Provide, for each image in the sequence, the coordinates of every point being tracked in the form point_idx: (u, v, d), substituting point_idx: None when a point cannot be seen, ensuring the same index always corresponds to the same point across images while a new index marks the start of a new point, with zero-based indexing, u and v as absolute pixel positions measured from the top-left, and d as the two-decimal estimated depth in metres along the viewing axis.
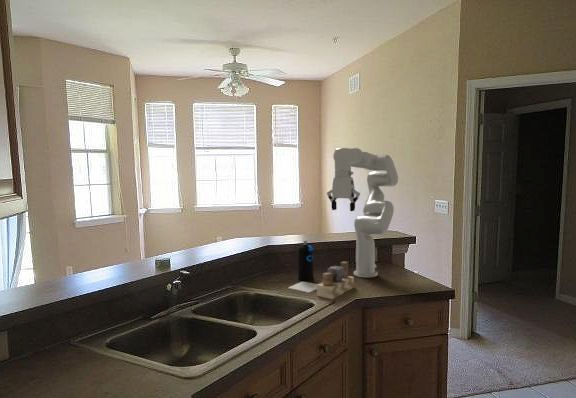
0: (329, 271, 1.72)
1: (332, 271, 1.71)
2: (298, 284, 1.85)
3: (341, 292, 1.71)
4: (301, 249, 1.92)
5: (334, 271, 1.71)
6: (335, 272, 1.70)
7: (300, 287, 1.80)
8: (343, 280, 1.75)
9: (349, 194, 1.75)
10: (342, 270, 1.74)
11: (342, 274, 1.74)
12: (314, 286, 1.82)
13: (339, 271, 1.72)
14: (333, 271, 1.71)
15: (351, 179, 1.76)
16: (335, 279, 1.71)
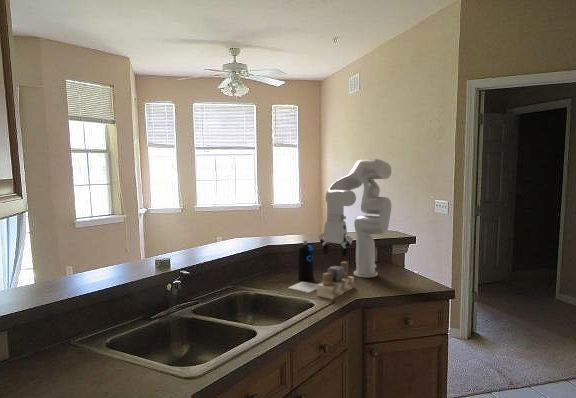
0: (329, 271, 1.72)
1: (332, 271, 1.71)
2: (298, 284, 1.85)
3: (341, 292, 1.71)
4: (301, 249, 1.92)
5: (334, 271, 1.71)
6: (335, 272, 1.70)
7: (300, 287, 1.80)
8: (343, 280, 1.75)
9: (341, 239, 1.69)
10: (342, 270, 1.74)
11: (342, 274, 1.74)
12: (314, 286, 1.82)
13: (339, 271, 1.72)
14: (333, 271, 1.71)
15: (343, 224, 1.70)
16: (335, 279, 1.71)
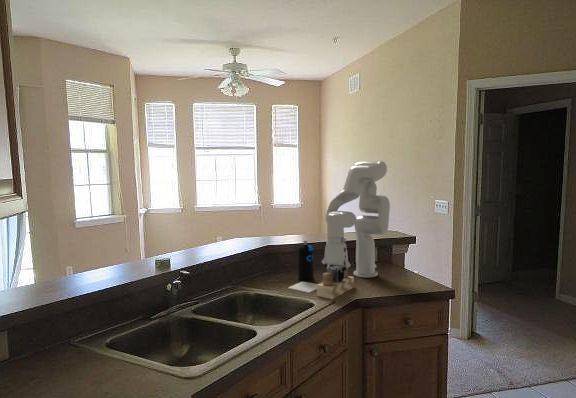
0: (329, 271, 1.72)
1: (332, 271, 1.71)
2: (298, 284, 1.85)
3: (341, 292, 1.71)
4: (301, 249, 1.92)
5: (334, 271, 1.71)
6: (335, 272, 1.70)
7: (300, 287, 1.80)
8: (343, 280, 1.75)
9: (342, 262, 1.70)
10: None
11: None
12: (314, 286, 1.82)
13: (339, 271, 1.72)
14: (333, 271, 1.71)
15: (344, 246, 1.71)
16: (335, 279, 1.71)
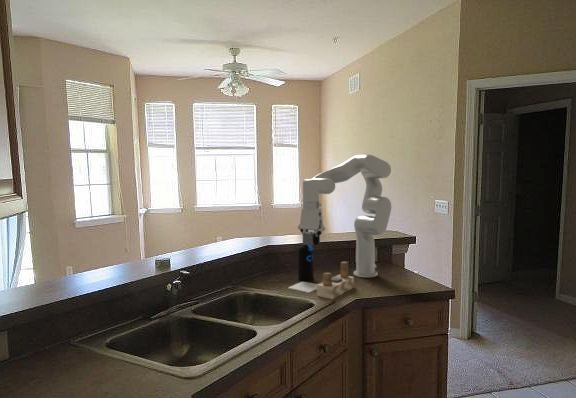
0: (304, 235, 1.76)
1: (307, 235, 1.75)
2: (298, 284, 1.85)
3: (341, 292, 1.71)
4: (301, 249, 1.92)
5: (309, 235, 1.75)
6: (311, 236, 1.74)
7: (300, 287, 1.80)
8: (343, 280, 1.75)
9: (317, 226, 1.74)
10: None
11: None
12: (314, 286, 1.82)
13: (314, 235, 1.76)
14: (308, 235, 1.75)
15: (319, 211, 1.75)
16: (310, 243, 1.74)
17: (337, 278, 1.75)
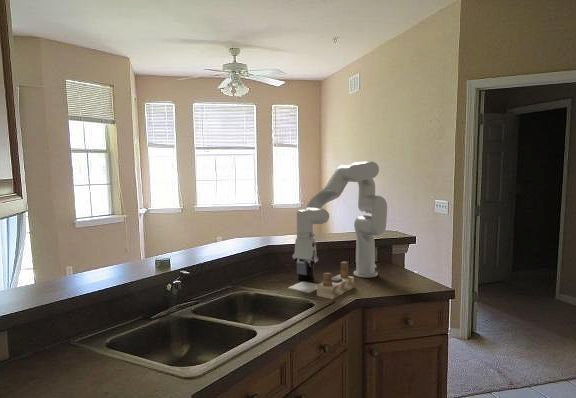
0: (298, 265, 1.79)
1: (301, 265, 1.78)
2: (298, 284, 1.85)
3: (341, 292, 1.71)
4: None
5: (303, 265, 1.77)
6: (304, 266, 1.77)
7: (300, 287, 1.80)
8: (343, 280, 1.75)
9: (310, 256, 1.76)
10: None
11: None
12: (314, 286, 1.82)
13: (308, 265, 1.79)
14: (302, 265, 1.78)
15: (312, 241, 1.77)
16: (304, 273, 1.77)
17: (337, 278, 1.75)
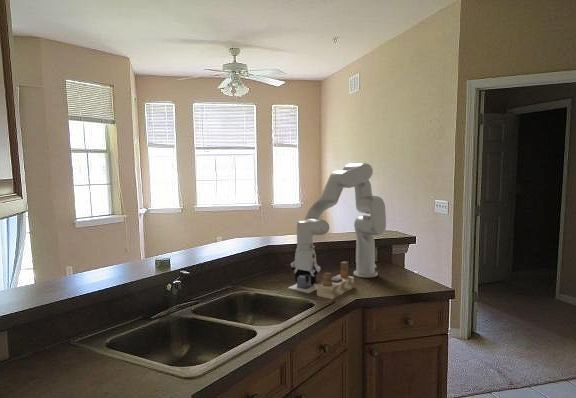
0: (299, 279, 1.79)
1: (301, 279, 1.78)
2: None
3: (341, 292, 1.71)
4: None
5: (303, 279, 1.78)
6: (304, 280, 1.77)
7: None
8: (343, 280, 1.75)
9: (310, 267, 1.77)
10: None
11: None
12: (314, 286, 1.82)
13: (308, 279, 1.79)
14: (302, 279, 1.78)
15: (312, 252, 1.78)
16: (304, 287, 1.78)
17: (337, 278, 1.75)
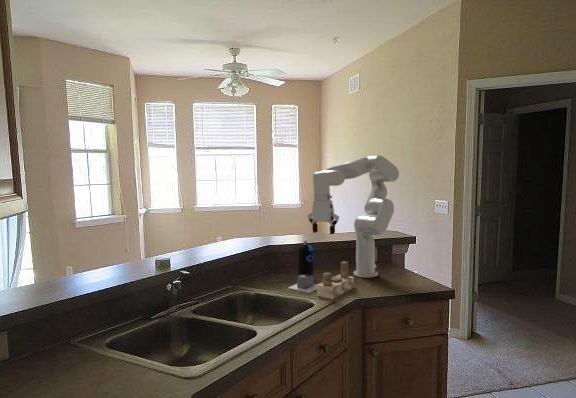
0: (299, 279, 1.79)
1: (301, 279, 1.78)
2: None
3: (341, 292, 1.71)
4: (301, 249, 1.92)
5: (303, 279, 1.78)
6: (304, 280, 1.77)
7: None
8: (343, 280, 1.75)
9: (328, 218, 1.77)
10: (311, 278, 1.81)
11: (311, 282, 1.81)
12: (314, 286, 1.82)
13: (308, 279, 1.79)
14: (302, 279, 1.78)
15: (330, 203, 1.78)
16: (304, 287, 1.78)
17: (337, 278, 1.75)
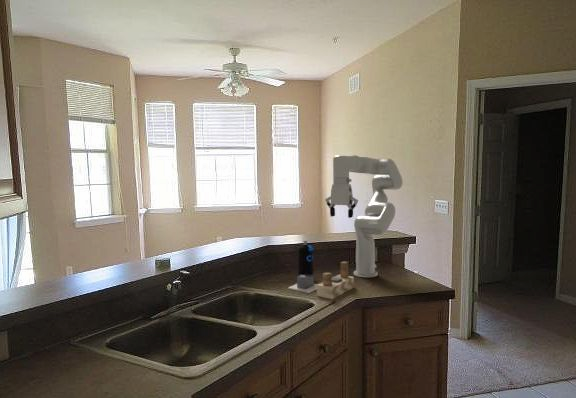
0: (299, 279, 1.79)
1: (301, 279, 1.78)
2: None
3: (341, 292, 1.71)
4: (301, 249, 1.92)
5: (303, 279, 1.78)
6: (304, 280, 1.77)
7: None
8: (343, 280, 1.75)
9: (347, 201, 1.78)
10: (311, 278, 1.81)
11: (311, 282, 1.81)
12: (314, 286, 1.82)
13: (308, 279, 1.79)
14: (302, 279, 1.78)
15: (349, 186, 1.79)
16: (304, 287, 1.78)
17: (337, 278, 1.75)
